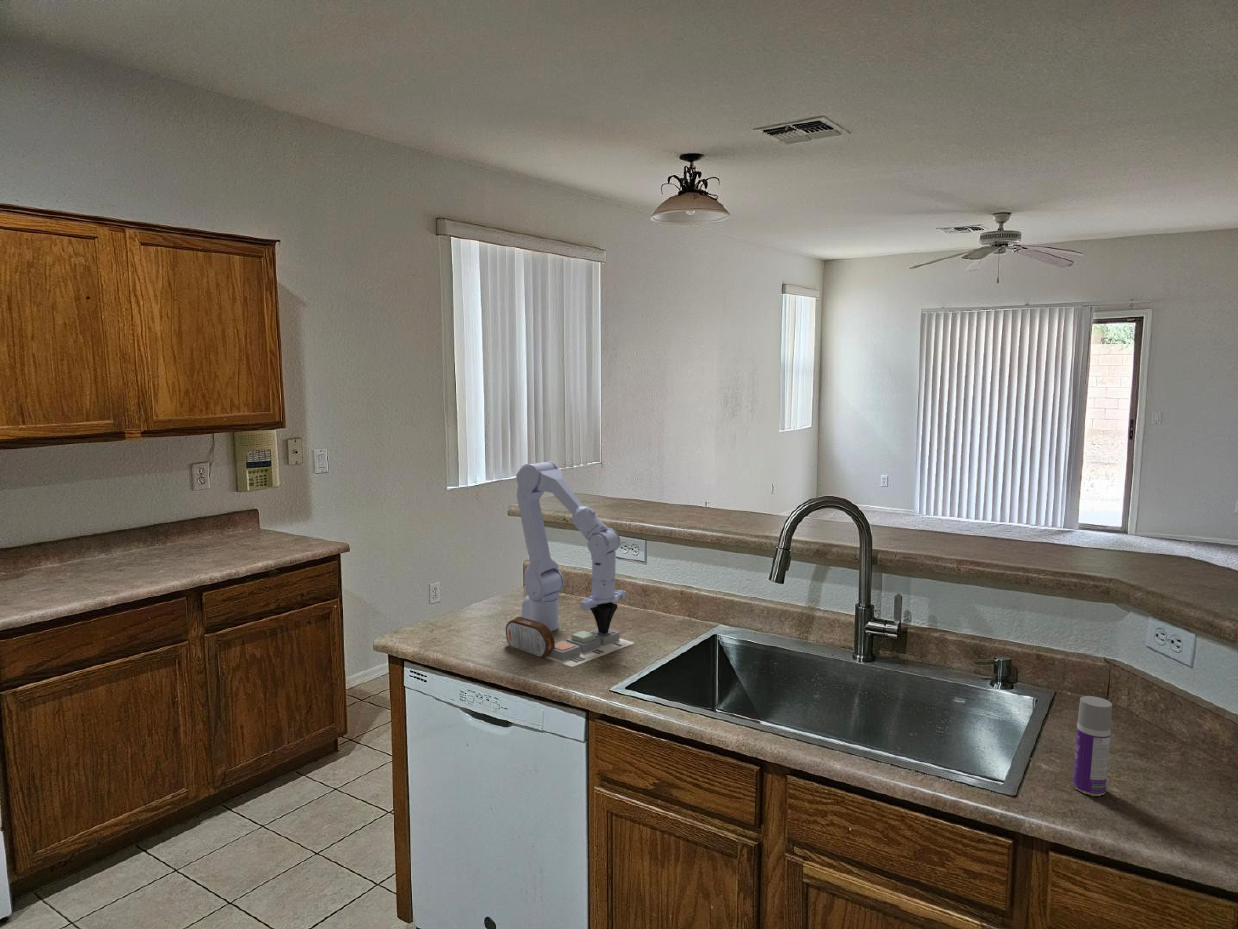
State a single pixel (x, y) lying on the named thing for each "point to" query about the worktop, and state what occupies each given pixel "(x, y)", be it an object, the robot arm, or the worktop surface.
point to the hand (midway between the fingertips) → (603, 632)
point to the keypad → (588, 649)
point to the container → (1092, 744)
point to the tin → (530, 636)
